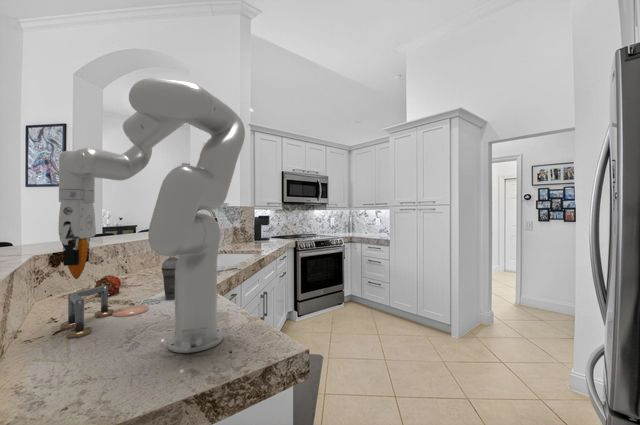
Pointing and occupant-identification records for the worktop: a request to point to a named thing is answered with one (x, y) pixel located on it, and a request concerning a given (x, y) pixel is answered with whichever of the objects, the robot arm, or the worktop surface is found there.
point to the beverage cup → (169, 277)
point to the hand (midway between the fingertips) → (76, 262)
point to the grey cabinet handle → (78, 311)
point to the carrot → (80, 258)
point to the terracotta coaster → (130, 311)
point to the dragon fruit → (109, 283)
